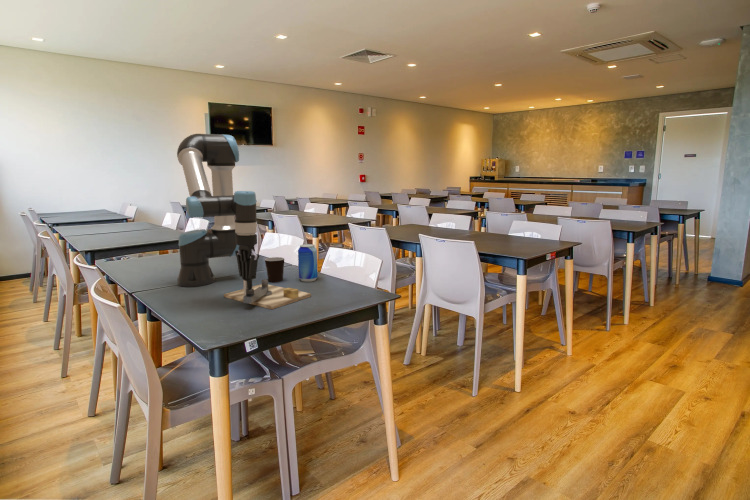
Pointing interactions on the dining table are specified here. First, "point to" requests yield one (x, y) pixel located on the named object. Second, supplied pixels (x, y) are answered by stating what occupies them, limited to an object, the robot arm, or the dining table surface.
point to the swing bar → (254, 294)
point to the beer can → (307, 262)
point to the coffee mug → (275, 269)
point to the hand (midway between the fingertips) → (248, 296)
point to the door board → (271, 296)
